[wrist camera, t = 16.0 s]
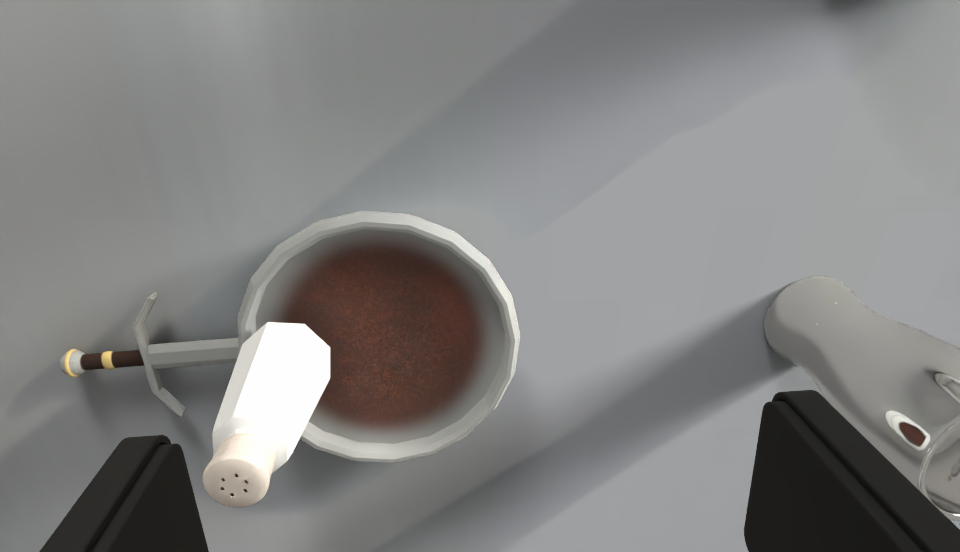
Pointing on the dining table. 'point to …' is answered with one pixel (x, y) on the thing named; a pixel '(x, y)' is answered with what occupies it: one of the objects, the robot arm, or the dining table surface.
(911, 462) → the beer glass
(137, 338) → the frying pan
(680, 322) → the dining table surface
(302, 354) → the pepper shaker
